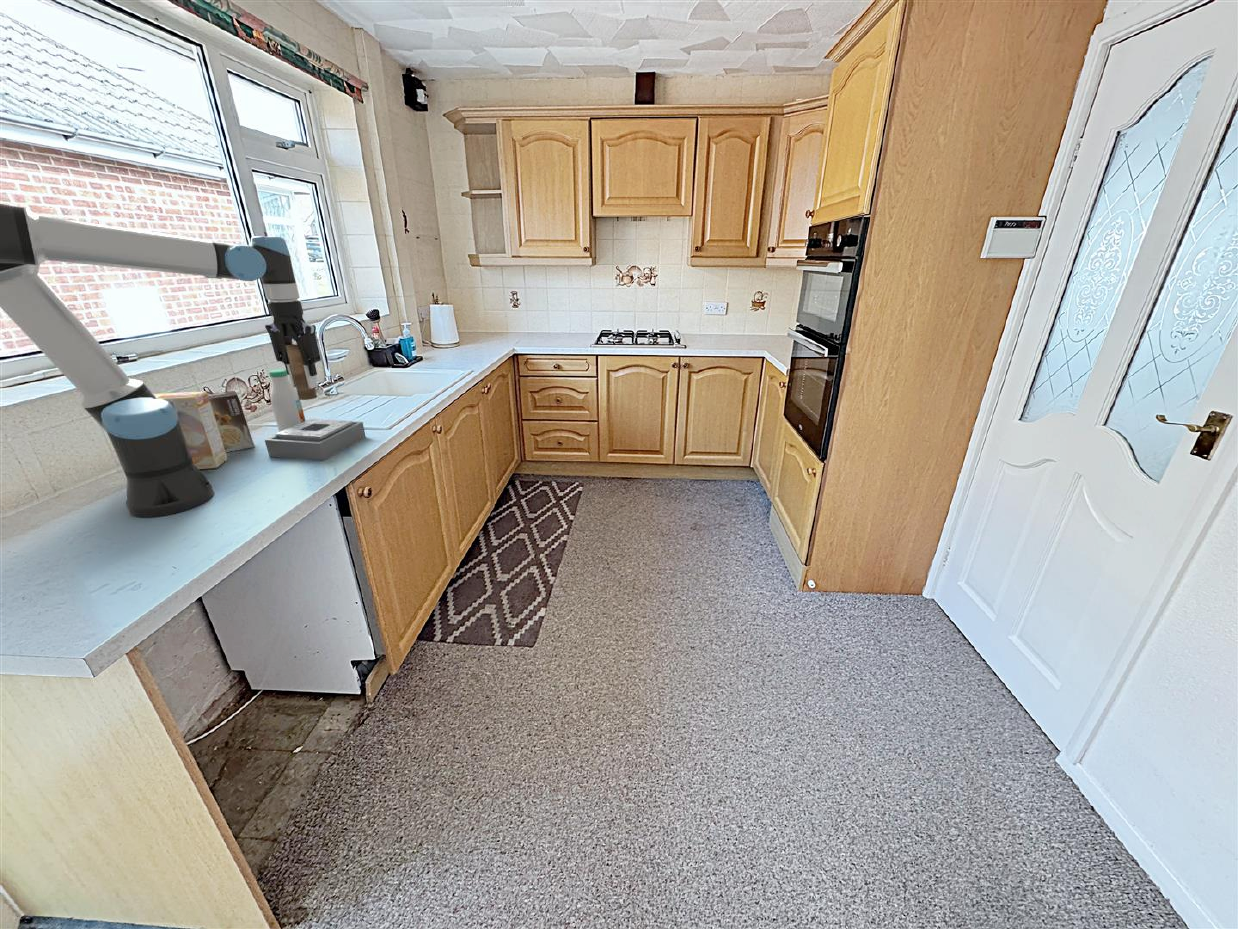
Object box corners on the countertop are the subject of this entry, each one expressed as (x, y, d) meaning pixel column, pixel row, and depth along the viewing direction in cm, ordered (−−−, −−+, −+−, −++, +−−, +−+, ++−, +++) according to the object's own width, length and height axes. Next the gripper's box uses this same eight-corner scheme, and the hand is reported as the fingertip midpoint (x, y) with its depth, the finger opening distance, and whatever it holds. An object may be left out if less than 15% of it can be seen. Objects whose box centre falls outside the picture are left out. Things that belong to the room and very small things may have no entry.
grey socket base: (323, 460, 139) (319, 443, 137) (269, 456, 141) (264, 439, 139) (365, 437, 156) (362, 421, 154) (316, 433, 158) (312, 418, 156)
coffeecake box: (149, 474, 129) (122, 400, 122) (165, 464, 135) (139, 393, 128) (217, 468, 133) (194, 396, 126) (228, 459, 139) (207, 390, 132)
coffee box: (251, 441, 152) (236, 389, 145) (255, 447, 147) (239, 394, 141) (214, 448, 146) (196, 395, 140) (216, 455, 142) (198, 400, 135)
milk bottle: (298, 436, 156) (282, 373, 148) (274, 436, 156) (256, 373, 148) (313, 428, 163) (297, 367, 155) (289, 428, 163) (273, 367, 155)
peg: (309, 400, 140) (296, 346, 134) (295, 399, 141) (281, 345, 135) (320, 395, 144) (308, 343, 138) (306, 395, 145) (293, 342, 139)
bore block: (324, 453, 141) (320, 436, 139) (279, 450, 143) (275, 433, 141) (355, 436, 153) (352, 421, 151) (314, 433, 155) (310, 418, 153)
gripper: (323, 299, 134) (342, 384, 144) (265, 298, 137) (287, 382, 146) (303, 302, 127) (324, 391, 137) (242, 301, 130) (267, 388, 139)
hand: (305, 386), depth 141 cm, fingers closed on peg, 4 cm apart
